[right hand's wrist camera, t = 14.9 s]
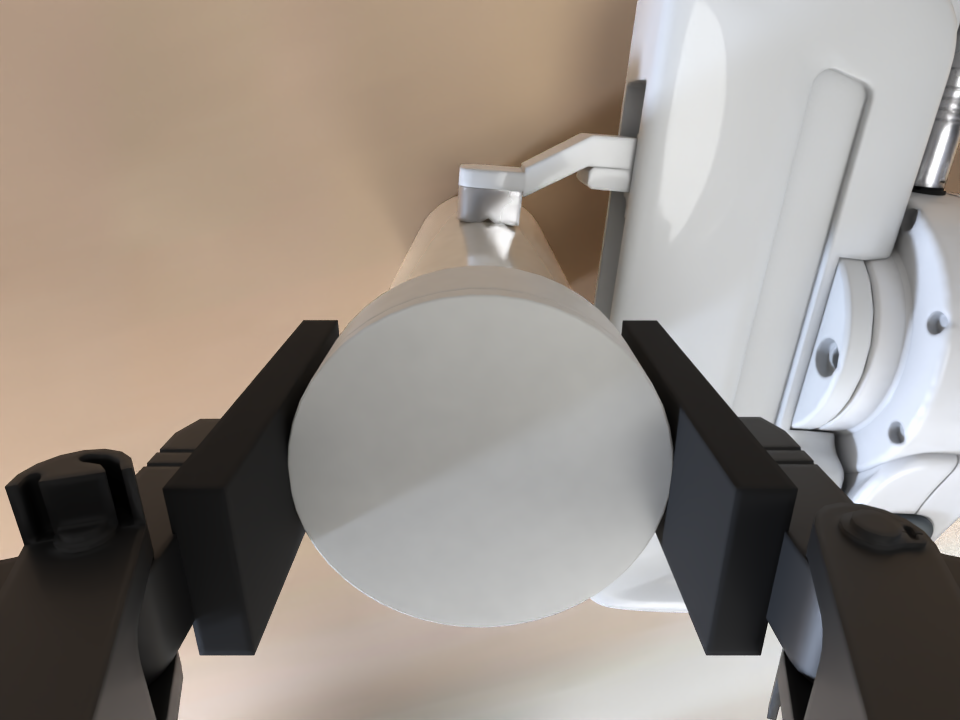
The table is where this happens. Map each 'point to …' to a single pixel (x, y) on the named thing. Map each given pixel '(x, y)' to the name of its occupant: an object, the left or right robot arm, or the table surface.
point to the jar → (478, 246)
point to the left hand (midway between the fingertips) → (451, 305)
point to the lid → (480, 449)
